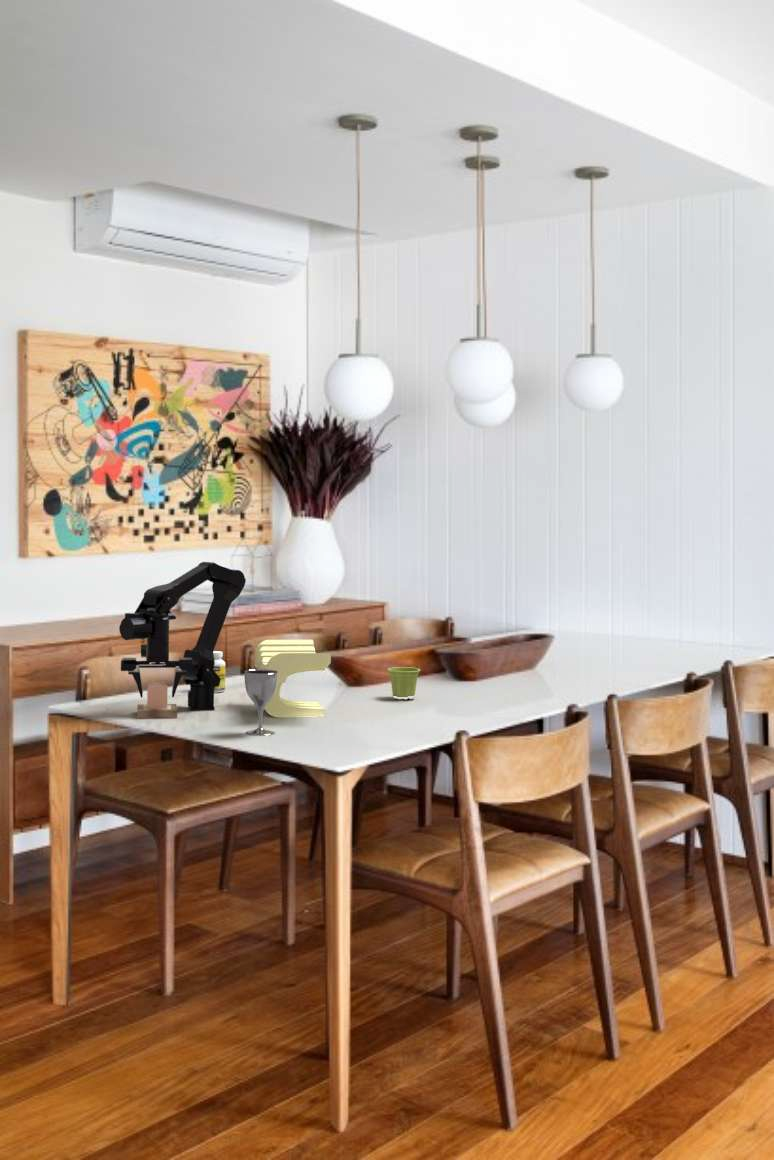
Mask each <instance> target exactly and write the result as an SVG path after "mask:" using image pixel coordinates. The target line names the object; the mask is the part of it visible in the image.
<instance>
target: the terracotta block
mask: <svg viewBox="0 0 774 1160" xmlns="http://www.w3.org/2000/svg"><path fill="white" fill-rule="evenodd" d="M168 686H169V685H168V682H147V693H146V695H147V696H146V698H147V701H146V704H147V708H148V709H161V708H167V704H168Z"/></svg>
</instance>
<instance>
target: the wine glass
mask: <svg viewBox="0 0 774 1160" xmlns="http://www.w3.org/2000/svg"><path fill="white" fill-rule="evenodd" d="M277 678H278V672H277V671H275V670H268V669H257V668H255V669H247V670H244V686H245V687H244V688H245V692H246V695H247V696H248V698H249V699H250V700H251V701H252V702H253V704H254V705H255V706H256V709H257V713H258V727H257V728H255V729H251V730H247V731H246V732H245V734H246V735H249V736H258V735H259V736H262V737H263V736H271V735H274V734H276V732H275V731H274V730H269V729H265V728H264V727H263V716H264V715H263V714H264V710H265V709H264V707H265V706H266V704H267V703H268V702H269V700H270V699H271V698H272V697H273V696H274V694H275V691H276V687H277Z"/></svg>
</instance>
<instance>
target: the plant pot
mask: <svg viewBox="0 0 774 1160" xmlns="http://www.w3.org/2000/svg"><path fill="white" fill-rule="evenodd" d="M387 671H388V673H389V677H390V683H391V693H392V697H393V696H397V697H408V696H414V695H415V696H416V689H417V682H418V677H419V673H420V672H421V669H420V668H416V667H411V666H410V667H408V666H407V667H406V666H405V667H404V666H401V667H400V666H399V667H389V668H387Z"/></svg>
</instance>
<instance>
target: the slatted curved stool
mask: <svg viewBox="0 0 774 1160" xmlns="http://www.w3.org/2000/svg"><path fill="white" fill-rule="evenodd" d="M331 662H332V653H331V652H316V649H315V645H314V640H313V639H265V640H263V641H261V642H260V643H259V644H258V645H257V646H256V648H255V652H254V668H256V669H268V670H275V671H277V672H278V678H277V687H276V691H275V694H274V696H273V697H272V698H271V699H270V700H269V702H268V703H267V704H266V706H265V707H264V710H265V712H267V714H269V716H272V717H274V718H303V717H304V718H306V717H307V718H309V717H310V718H311V717H312V718H313V717H318V716H321V717H325V710H324V707H323V706H322V705H320V703H319V702H318V701H296V700H295V701H294V700H289V699H285V698H283V697H280V693H281V692H280V691H281V687H282V685H283V683H286V681H287V678H288V677H290V676H292V675H295V674H298V673H304V672H314V671H325V670H326V669H328V667H329V666H330V665H331V664H332V663H331Z"/></svg>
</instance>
